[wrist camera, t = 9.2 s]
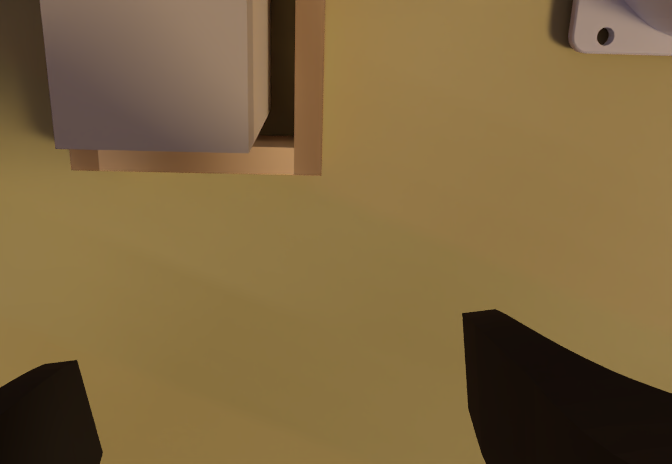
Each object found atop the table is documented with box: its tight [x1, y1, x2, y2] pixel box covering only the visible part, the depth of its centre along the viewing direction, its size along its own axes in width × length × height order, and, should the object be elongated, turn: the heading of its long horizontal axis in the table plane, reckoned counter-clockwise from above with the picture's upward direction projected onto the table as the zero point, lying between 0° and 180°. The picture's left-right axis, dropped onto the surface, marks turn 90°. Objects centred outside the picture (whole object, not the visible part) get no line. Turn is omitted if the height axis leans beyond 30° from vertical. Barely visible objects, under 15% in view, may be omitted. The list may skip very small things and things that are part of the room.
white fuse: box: [40, 0, 271, 153], centre depth 16 cm, size 4×4×7 cm
